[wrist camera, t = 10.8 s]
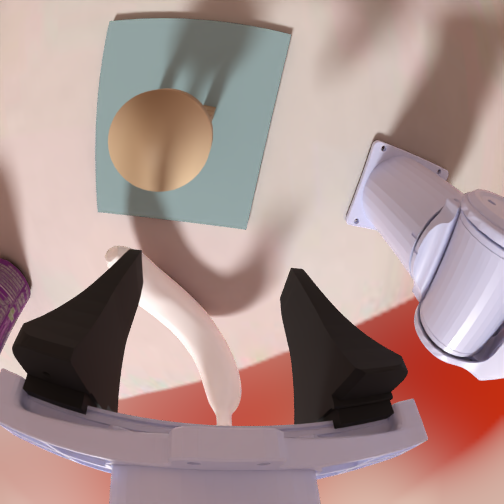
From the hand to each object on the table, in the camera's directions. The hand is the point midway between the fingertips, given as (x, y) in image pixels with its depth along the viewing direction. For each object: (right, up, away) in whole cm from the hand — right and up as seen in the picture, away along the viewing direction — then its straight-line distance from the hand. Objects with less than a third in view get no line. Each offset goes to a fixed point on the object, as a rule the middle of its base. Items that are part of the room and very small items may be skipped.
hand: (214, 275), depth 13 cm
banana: (-5, -3, +15) cm, 16 cm away
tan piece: (-3, +10, +4) cm, 12 cm away
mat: (-4, +11, +5) cm, 12 cm away
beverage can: (-29, -2, +12) cm, 31 cm away
